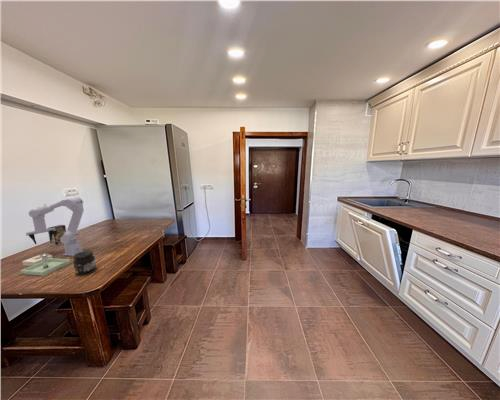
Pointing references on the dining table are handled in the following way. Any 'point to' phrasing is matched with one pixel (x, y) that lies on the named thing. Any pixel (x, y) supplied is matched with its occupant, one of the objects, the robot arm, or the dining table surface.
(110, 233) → the dining table surface
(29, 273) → the tray
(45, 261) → the steel pin
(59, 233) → the coffee box
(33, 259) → the socket block
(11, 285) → the dining table surface
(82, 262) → the supplement container
